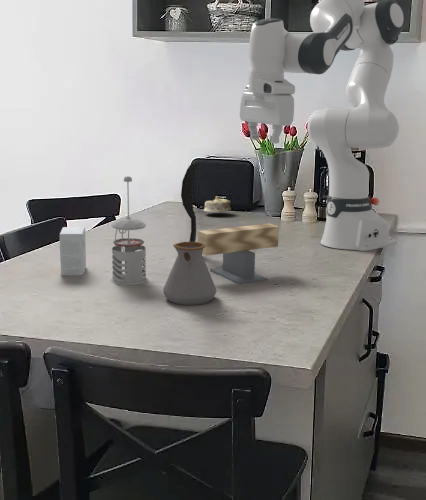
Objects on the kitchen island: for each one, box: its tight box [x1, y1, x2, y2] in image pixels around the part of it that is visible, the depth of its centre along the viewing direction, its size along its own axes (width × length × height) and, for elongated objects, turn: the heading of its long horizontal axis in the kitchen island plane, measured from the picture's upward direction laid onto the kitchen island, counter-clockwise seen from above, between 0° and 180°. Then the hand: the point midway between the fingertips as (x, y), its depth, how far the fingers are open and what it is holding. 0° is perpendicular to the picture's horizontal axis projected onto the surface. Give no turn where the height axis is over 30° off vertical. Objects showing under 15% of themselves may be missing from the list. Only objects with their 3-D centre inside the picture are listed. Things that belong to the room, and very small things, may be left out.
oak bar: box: [197, 222, 279, 256], centre depth 180 cm, size 20×4×5 cm, turn 119°
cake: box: [203, 195, 232, 213], centre depth 265 cm, size 10×10×5 cm
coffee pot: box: [162, 241, 217, 306], centre depth 155 cm, size 21×12×15 cm, turn 178°
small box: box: [59, 226, 87, 276], centre depth 183 cm, size 8×6×10 cm
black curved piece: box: [180, 161, 200, 242], centre depth 200 cm, size 8×4×25 cm, turn 166°
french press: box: [109, 175, 149, 286], centre depth 175 cm, size 10×12×25 cm
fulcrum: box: [209, 250, 269, 285], centre depth 181 cm, size 8×14×7 cm, turn 29°
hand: (264, 141), depth 191 cm, fingers open, 8 cm apart
